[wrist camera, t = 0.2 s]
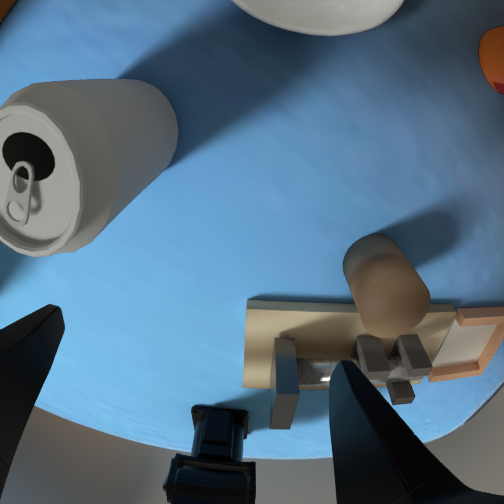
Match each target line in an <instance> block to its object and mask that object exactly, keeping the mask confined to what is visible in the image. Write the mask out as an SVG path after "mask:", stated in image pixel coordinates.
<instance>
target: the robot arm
mask: <svg viewBox="0 0 504 504" xmlns="http://www.w3.org/2000/svg"><path fill="white" fill-rule="evenodd" d="M64 331H65V324H64V320H63V315H62V310H61V308H60V307H59V306H56V305H52V304H48V305H46V306H44V307H42V308H40V309H38V310H36V311H35V312H33V313H31V314H29V315H27V316H25V317H23V318H21V319H19V320H18V321H16V322H14V323H12V324H10V325H8V326H6V327H4V328H3V329H1V330H0V498H1V495H2V492H3V488H4V485H5V482H6V479H7V476H8V473H9V470H10V468H9V467H10V466H11V463H12V460H13V457H14V455H15V452H16V449H17V446H18V444H19V441H20V438H21V436H22V433H23V431H24V428H25V426H26V423H27V421H28V419H29V416H30V414H31V411H32V409H33V407H34V404H35V402H36V400H37V397H38V395H39V393H40V391H41V389H42V386H43V384H44V382H45V380H46V378H47V376H48V373H49V371H50V369H51V366H52V364H53V361H54V358H55V355H56V353H57V350H58V347H59V344H60V342H61V339H62V337H63V334H64ZM191 413H192V419H193V424H194V429H195V434H194V440H193V446H192V452H191V456H187V455H181V454H179V453H177V454H176V456H175V458H172V461H171V466H170V470H169V473H168V476H167V477H166V480H165V482H164V484H163V490H164V491H165V492H166V496H167V502H168V503H171V504H255V497H256V468H255V466H256V463H255V462H242V456H243V439H246V438H247V429H248V415H249V413H248V412H247V411H241V410H227V409H215V408H204V407H192V409H191ZM329 424H330V434H331V444H332V454H333V464H334V475H335V486H336V499H337V504H504V496H501V495H496V494H491V493H486V492H481V491H476V490H473V489H471V488H469V487H467V486H466V485H465V484H463V483H462V482H461V481H460V480H459V479H458V478H457V477H456V476H455V475H454V474H452V473H451V472H450V471H449V470H448V469H447V468H446V467H445V466H444V465H443V464H442V463H441V462H440V461H439V460H438V459H437V458H436V457H435V456H434V455H433V454H432V453H431V452H430V451H429V450H428V448H427V447H426V446H425V445H424V444H423V443H422V442H421V441H420V439H419V438H418V437H417V436H416V435H414V432H413V431H412V430H411V429H410V428H409V426H408V425H407V424H406V423H405V422H404V421H403V419H402V418H401V417H400V416H399V415H398V413H397V412H396V411H395V410H394V409H393V408H392V406H391V405H390V404H389V403H388V402H387V401H386V399H385V398H384V397H383V396H382V395H381V393H380V392H379V391H378V390H377V389H376V388H375V386H374V385H373V384H372V383H371V382H370V381H369V379H368V378H367V377H366V376H365V375H364V373H363V372H362V371H361V370H360V369H359V368H358V366H357V365H356V364H355V363H354V362H353V361H351V360H343V359H342V360H339V361H338V363H337V365H336V367H335V369H334V371H333V372H332V374H331V377H330V381H329Z"/></svg>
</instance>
